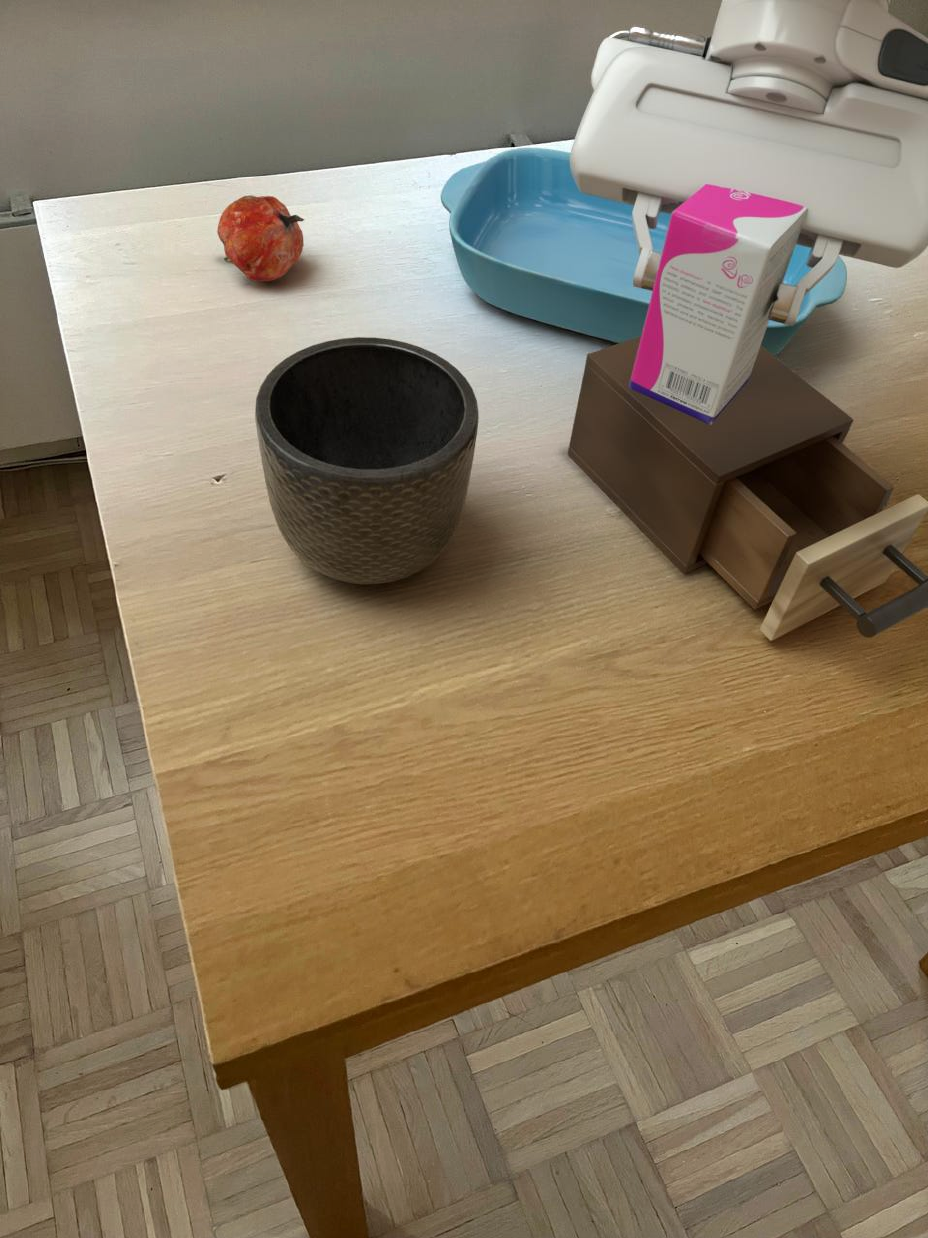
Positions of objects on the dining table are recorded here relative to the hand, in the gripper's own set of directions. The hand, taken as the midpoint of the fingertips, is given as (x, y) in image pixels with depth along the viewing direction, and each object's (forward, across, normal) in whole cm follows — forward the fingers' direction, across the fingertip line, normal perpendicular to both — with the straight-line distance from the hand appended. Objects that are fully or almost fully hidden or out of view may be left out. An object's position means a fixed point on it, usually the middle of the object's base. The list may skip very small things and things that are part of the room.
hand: (713, 304), depth 58 cm
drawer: (+13, +11, +16) cm, 23 cm away
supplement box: (+4, 0, +5) cm, 6 cm away
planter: (+20, -18, +11) cm, 29 cm away
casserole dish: (-8, -8, +39) cm, 41 cm away
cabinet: (+8, +2, +22) cm, 24 cm away
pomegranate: (0, -40, +32) cm, 51 cm away
